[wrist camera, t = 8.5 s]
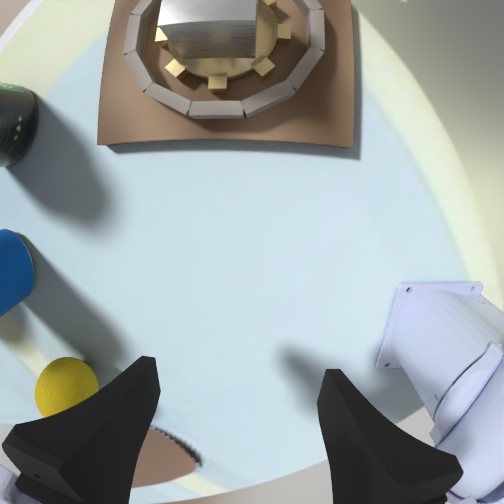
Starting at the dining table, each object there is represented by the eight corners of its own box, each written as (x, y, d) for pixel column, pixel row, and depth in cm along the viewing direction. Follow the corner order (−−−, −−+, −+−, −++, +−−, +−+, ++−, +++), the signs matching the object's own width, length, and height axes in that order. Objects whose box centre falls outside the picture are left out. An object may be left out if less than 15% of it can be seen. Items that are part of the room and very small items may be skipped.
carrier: (342, -23, 13) (352, -42, 11) (347, 148, 17) (361, 146, 15) (127, -20, 13) (115, -35, 11) (105, 145, 17) (85, 144, 15)
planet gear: (289, -8, 13) (301, -63, 7) (286, 95, 15) (303, 63, 9) (169, -5, 13) (139, -54, 7) (156, 95, 15) (111, 70, 9)
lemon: (111, 354, 23) (71, 416, 15) (111, 394, 24) (81, 453, 16) (60, 332, 22) (13, 384, 14) (65, 373, 24) (28, 424, 16)
